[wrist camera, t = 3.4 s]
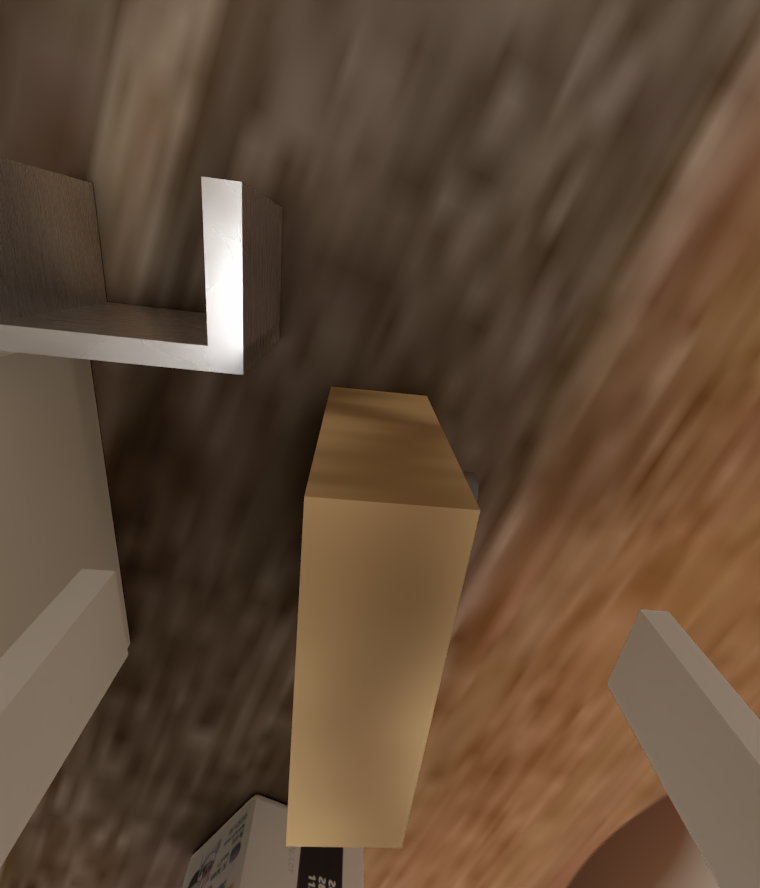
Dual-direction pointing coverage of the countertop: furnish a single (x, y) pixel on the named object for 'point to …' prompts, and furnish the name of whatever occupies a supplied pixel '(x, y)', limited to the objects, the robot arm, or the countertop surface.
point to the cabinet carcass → (49, 487)
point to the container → (269, 855)
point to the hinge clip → (122, 325)
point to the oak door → (373, 614)
